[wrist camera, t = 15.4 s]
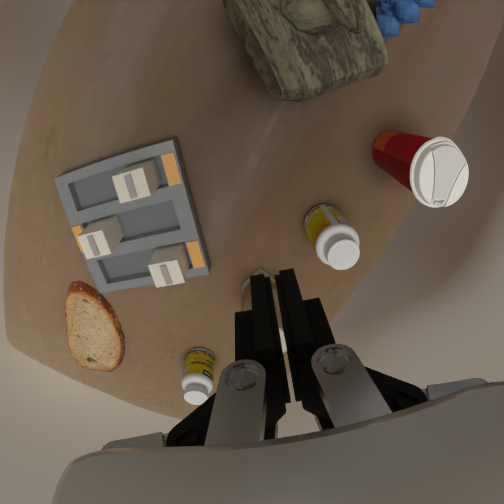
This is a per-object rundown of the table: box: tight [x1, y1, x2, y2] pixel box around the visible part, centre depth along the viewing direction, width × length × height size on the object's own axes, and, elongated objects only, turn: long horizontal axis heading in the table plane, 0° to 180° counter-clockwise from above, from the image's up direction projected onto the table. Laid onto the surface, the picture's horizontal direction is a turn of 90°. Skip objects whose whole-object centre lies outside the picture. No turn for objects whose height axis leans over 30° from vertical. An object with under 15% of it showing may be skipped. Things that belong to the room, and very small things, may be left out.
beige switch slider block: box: [112, 158, 161, 204], centre depth 36 cm, size 3×4×6 cm
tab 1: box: [77, 214, 124, 259], centre depth 39 cm, size 3×4×6 cm
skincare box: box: [241, 268, 287, 354], centre depth 43 cm, size 6×4×12 cm
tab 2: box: [148, 242, 190, 288], centre depth 42 cm, size 3×4×6 cm
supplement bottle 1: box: [182, 348, 215, 405], centre depth 51 cm, size 5×5×10 cm
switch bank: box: [54, 137, 211, 293], centre depth 41 cm, size 19×18×3 cm
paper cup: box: [372, 131, 469, 207], centre depth 33 cm, size 8×8×14 cm
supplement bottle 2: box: [305, 204, 360, 270], centre depth 40 cm, size 6×6×10 cm
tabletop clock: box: [222, 0, 389, 102], centre depth 22 cm, size 14×9×25 cm, turn 25°
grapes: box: [374, 0, 435, 41], centre depth 25 cm, size 12×7×12 cm, turn 143°
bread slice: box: [65, 281, 125, 372], centre depth 51 cm, size 18×18×4 cm
